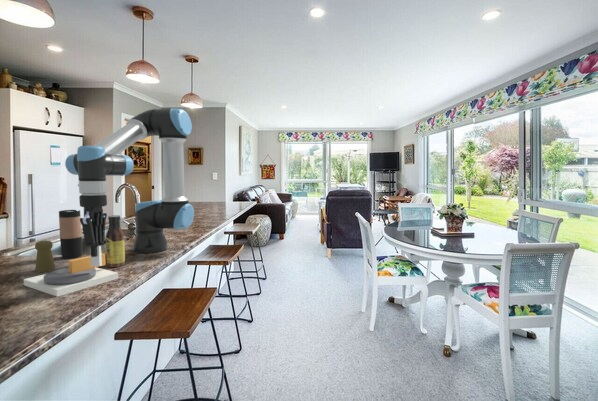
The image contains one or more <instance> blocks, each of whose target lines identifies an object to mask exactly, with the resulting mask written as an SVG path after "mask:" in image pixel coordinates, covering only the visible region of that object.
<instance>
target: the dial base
mask: <svg viewBox="0 0 598 401" xmlns="http://www.w3.org/2000/svg"><path fill="white" fill-rule="evenodd" d="M95 269H96V275H95V276H94V277H92V278H90V279H87V280H84V281H80V282H76V283H70V284H60V285H52V284H46V283H44V275H46V274H47V273H44V274H41V275H36V276H32V277H27V278H23V286H25V287H27V288H31V289H33V290H37V291H39V292H42V293H45V294H48V295H51V296H54V297H61V296H64V295H68V294H72V293H74V292H77V291H81V290H84V289H88V288H91V287H95V286H97V285H100V284H104V283H108V282H110V281H114V280H117V279H119V272H116V271H112V270H109V269H105V268H99V267H95Z"/></svg>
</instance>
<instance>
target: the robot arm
mask: <svg viewBox="0 0 598 401" xmlns="http://www.w3.org/2000/svg"><path fill="white" fill-rule="evenodd" d="M192 130H193V125H192V121H191V118H190V115H189V114H188V112H187V111H185V110H184V109H183V108H173V107H172V108H157V109H155V108H152V109H148V110H145V111H143V112H141V113H139V114H137V115H135V116H133V117H131V118H130V119H128V120H127V121H126V124H125V125H124V126H123V127H120V128H119V129H118V130H116V131H115V132H112V134H110V135H108V136H107V137H104V138H103V139H102V140H100V141H99V142H98V143H96V144H93V145H79V146H78V147H77V153H74V154H69V155H68V156H67V157H66V159H65V163H64V165H65V168H66V170H67V171H68V173H69V174H72V175H75V176H78V177H77V178H78V184H77V186H78V190H79V191H78V193H79V194H80V195H79V206H80V207H82V208H84V217H81V218H80V222H81V229H82V233H83V238H84V243H85V247H86V248H89V254H90V255H89V256H90V257H91V266H99V267H102V266H101V265H102V256H101V253H102V246H104V245H105V240H106V225H107V224H106V223H107V222H106V221H107V218H108V217H107V216H108V214H107V213H106V212H105V213H104V209H103V207H106V206H107V205H108V199H107V198H108V197H107V196H108V195H106V193H107V192H108V191H107V176H115V177H116V176H117V177H120V176H122V177H123V176H129V175H130V174H131V173H133V170H134V167H135V166H134V165H135V164H134V160H133V159H132V158H131V157H130V156H129V155H128V154H127V155H126V154H123V152H124V151H125V150H127V149H128V148H130V147H131V146H132V145H133V144H135V143H137V142H138V141H142V140H144V139H146V138H148V137H153V136H154V137H155V136H157V137H158V139H159V141H160V142H161V143H162V151H163V152H162V154H163V155H162V156H163V179H164V180H163V182H164V183H163V184H164V196H163V198H162V199H158V200H149V201H141V202H137V203H136V205H135V206H134V207H135V210H134V214H135V216H134V217H135V219H134V220H135V233H136V234H135V238H134V240H133V241H134V242H133V244H132V252H133V253H136V254H152V253H159V252H163V251H166V250H168V246H169V245H168V241H167V238H166V237H165V236H166V235H165V233H164V229H167V230H168V229H170V230H176V231H177V230H185V229H187V228H189V227H190V226H191V224H192V223H193V220H194V217H195V209H194V206H193V205H192V204H190V203H189V198H188V197H187V196H186V191H185V189H186V188H185V156H184V143H186V141H188V140H187V139H188V136H189V135H190V134H191V133H192Z"/></svg>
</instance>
